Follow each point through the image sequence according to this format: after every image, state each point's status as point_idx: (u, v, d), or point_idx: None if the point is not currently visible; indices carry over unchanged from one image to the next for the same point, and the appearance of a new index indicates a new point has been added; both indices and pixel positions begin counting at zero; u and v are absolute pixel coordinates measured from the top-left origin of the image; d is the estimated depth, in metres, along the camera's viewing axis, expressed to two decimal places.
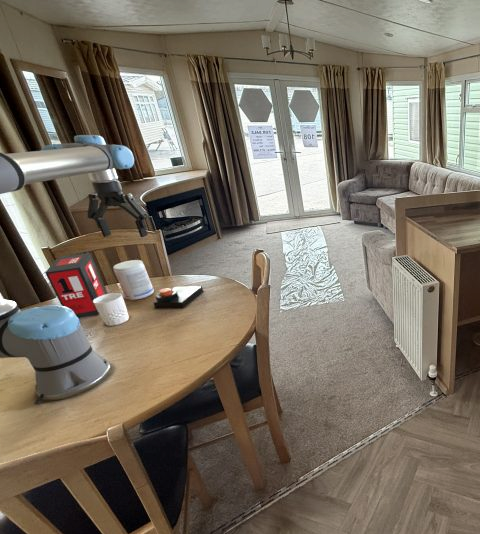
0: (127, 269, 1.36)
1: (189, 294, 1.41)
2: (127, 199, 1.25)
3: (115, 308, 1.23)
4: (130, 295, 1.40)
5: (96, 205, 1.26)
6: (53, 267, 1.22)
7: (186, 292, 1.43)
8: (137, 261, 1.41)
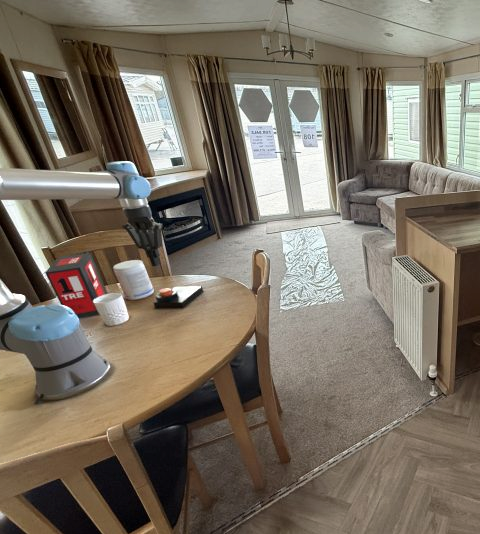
0: (126, 269, 1.36)
1: (189, 294, 1.41)
2: (155, 229, 1.26)
3: (115, 308, 1.23)
4: (130, 295, 1.40)
5: (136, 233, 1.28)
6: (53, 267, 1.22)
7: (186, 292, 1.43)
8: (137, 261, 1.41)
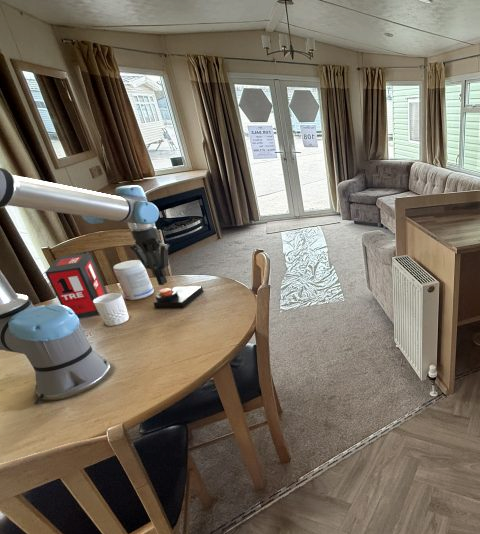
0: (126, 269, 1.36)
1: (189, 294, 1.41)
2: (162, 250, 1.29)
3: (115, 308, 1.23)
4: (130, 295, 1.40)
5: (143, 254, 1.31)
6: (53, 267, 1.22)
7: (186, 292, 1.43)
8: (137, 261, 1.41)
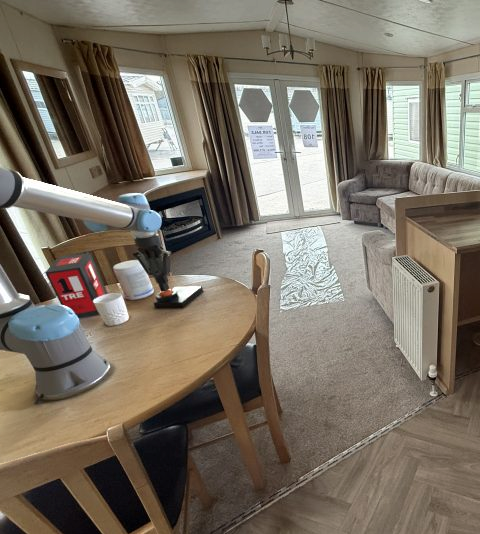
0: (126, 269, 1.36)
1: (189, 294, 1.41)
2: (164, 256, 1.30)
3: (115, 308, 1.23)
4: (130, 295, 1.40)
5: (146, 261, 1.32)
6: (53, 267, 1.22)
7: (186, 292, 1.43)
8: (137, 261, 1.41)
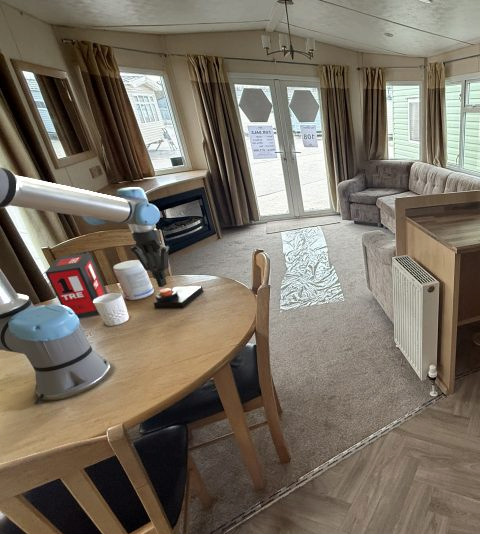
0: (126, 269, 1.36)
1: (189, 294, 1.41)
2: (162, 251, 1.29)
3: (115, 308, 1.23)
4: (130, 295, 1.40)
5: (144, 256, 1.31)
6: (53, 267, 1.22)
7: (186, 292, 1.43)
8: (137, 261, 1.41)
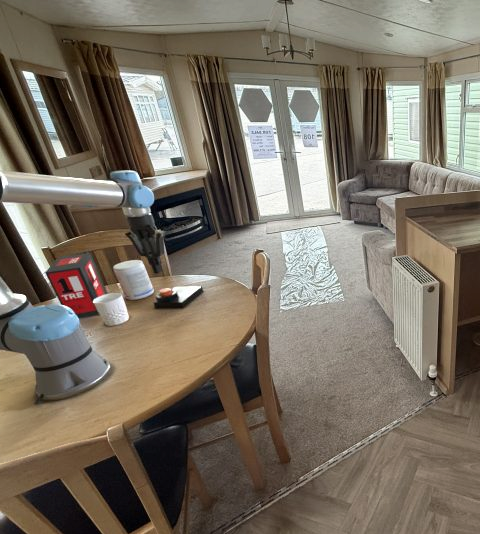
0: (126, 269, 1.36)
1: (189, 294, 1.41)
2: (157, 237, 1.27)
3: (115, 308, 1.23)
4: (130, 295, 1.40)
5: (139, 241, 1.29)
6: (53, 267, 1.22)
7: (186, 292, 1.43)
8: (137, 261, 1.41)
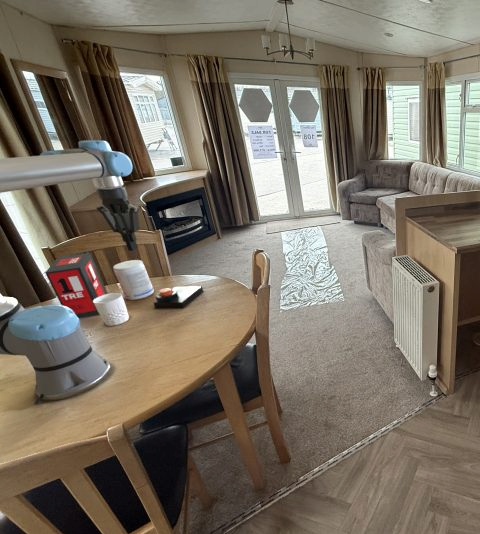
0: (126, 269, 1.36)
1: (189, 294, 1.41)
2: (131, 211, 1.21)
3: (115, 308, 1.23)
4: (130, 295, 1.40)
5: (112, 216, 1.23)
6: (53, 267, 1.22)
7: (186, 292, 1.43)
8: (137, 261, 1.41)
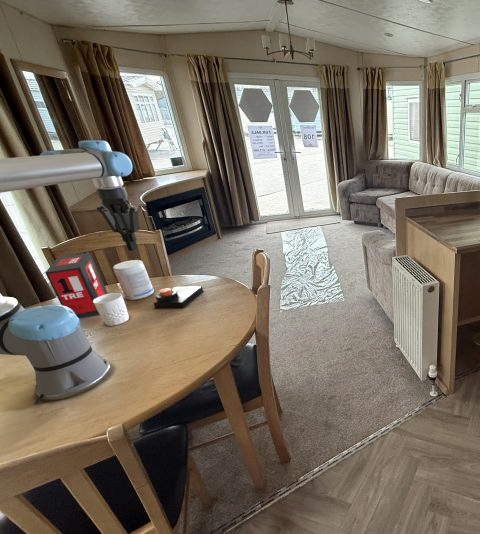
0: (126, 269, 1.36)
1: (189, 294, 1.41)
2: (131, 211, 1.21)
3: (115, 308, 1.23)
4: (130, 295, 1.40)
5: (112, 216, 1.23)
6: (53, 267, 1.22)
7: (186, 292, 1.43)
8: (137, 261, 1.41)
